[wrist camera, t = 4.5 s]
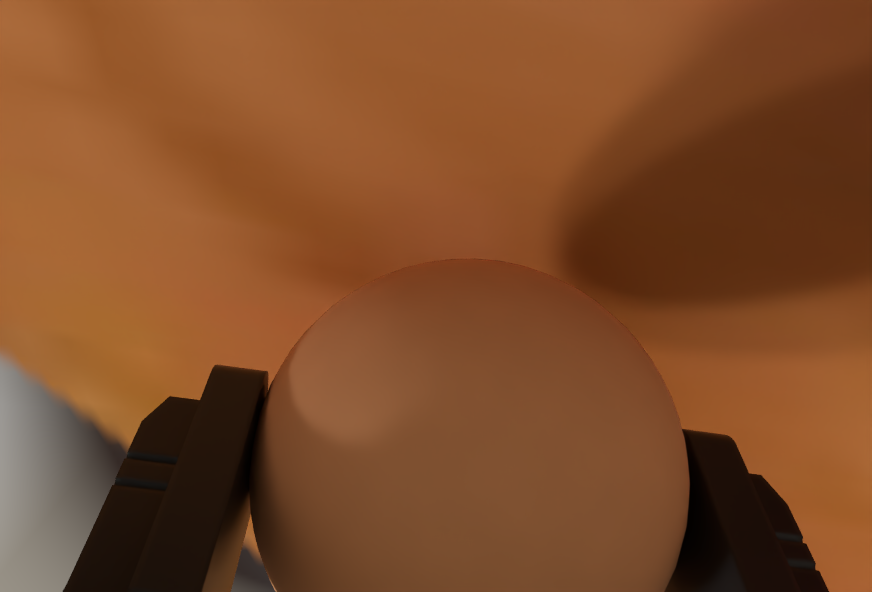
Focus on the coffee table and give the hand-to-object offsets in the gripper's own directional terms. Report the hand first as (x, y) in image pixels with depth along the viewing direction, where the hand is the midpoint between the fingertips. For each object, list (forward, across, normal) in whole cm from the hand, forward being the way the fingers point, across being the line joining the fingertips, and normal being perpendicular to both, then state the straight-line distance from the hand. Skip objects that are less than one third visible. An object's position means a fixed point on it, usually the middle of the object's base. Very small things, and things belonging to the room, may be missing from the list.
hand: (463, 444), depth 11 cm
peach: (+2, 0, 0) cm, 2 cm away
